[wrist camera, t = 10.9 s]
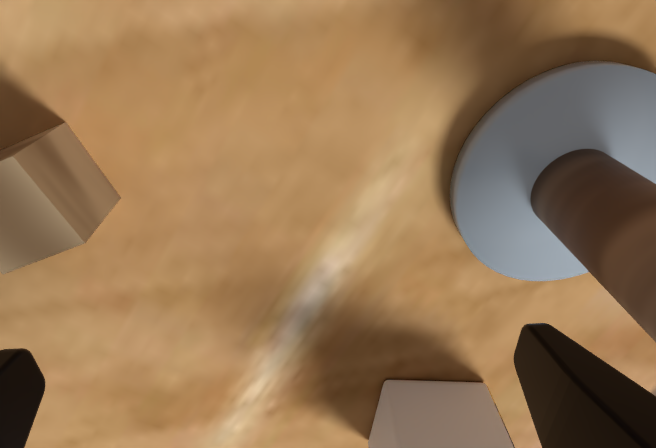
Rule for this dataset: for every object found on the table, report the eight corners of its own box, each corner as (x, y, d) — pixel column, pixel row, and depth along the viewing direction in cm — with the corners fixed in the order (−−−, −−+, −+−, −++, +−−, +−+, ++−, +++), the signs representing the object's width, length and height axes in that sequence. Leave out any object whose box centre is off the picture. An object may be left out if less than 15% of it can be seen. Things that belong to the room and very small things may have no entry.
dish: (437, 272, 24) (443, 285, 23) (467, 64, 18) (477, 69, 17) (630, 263, 24) (644, 276, 23) (718, 57, 18) (743, 62, 17)
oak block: (51, 224, 21) (2, 274, 18) (-9, 154, 19) (-78, 194, 16) (121, 197, 20) (85, 243, 17) (66, 121, 18) (12, 155, 15)
